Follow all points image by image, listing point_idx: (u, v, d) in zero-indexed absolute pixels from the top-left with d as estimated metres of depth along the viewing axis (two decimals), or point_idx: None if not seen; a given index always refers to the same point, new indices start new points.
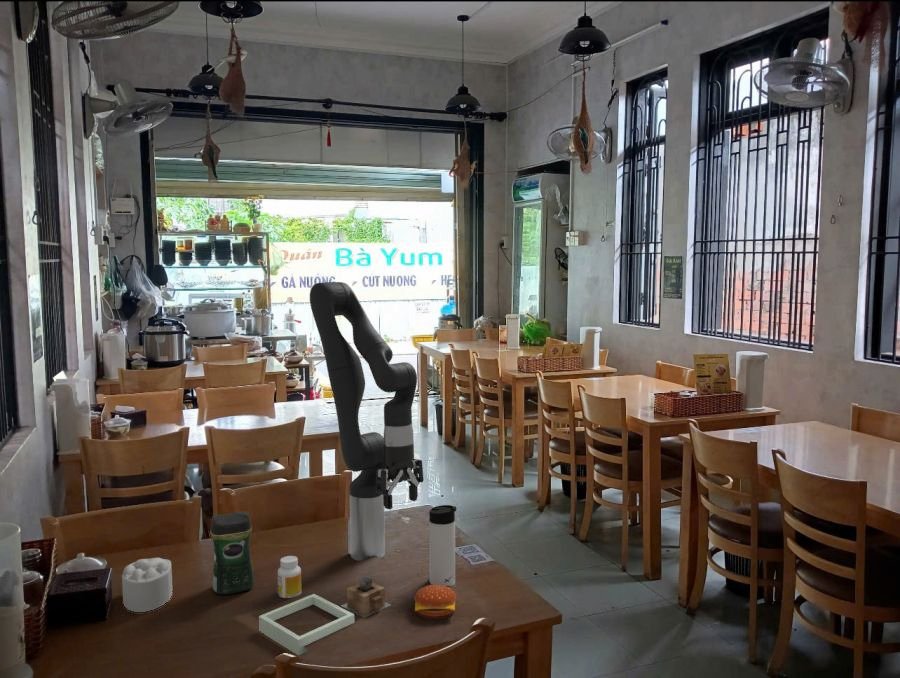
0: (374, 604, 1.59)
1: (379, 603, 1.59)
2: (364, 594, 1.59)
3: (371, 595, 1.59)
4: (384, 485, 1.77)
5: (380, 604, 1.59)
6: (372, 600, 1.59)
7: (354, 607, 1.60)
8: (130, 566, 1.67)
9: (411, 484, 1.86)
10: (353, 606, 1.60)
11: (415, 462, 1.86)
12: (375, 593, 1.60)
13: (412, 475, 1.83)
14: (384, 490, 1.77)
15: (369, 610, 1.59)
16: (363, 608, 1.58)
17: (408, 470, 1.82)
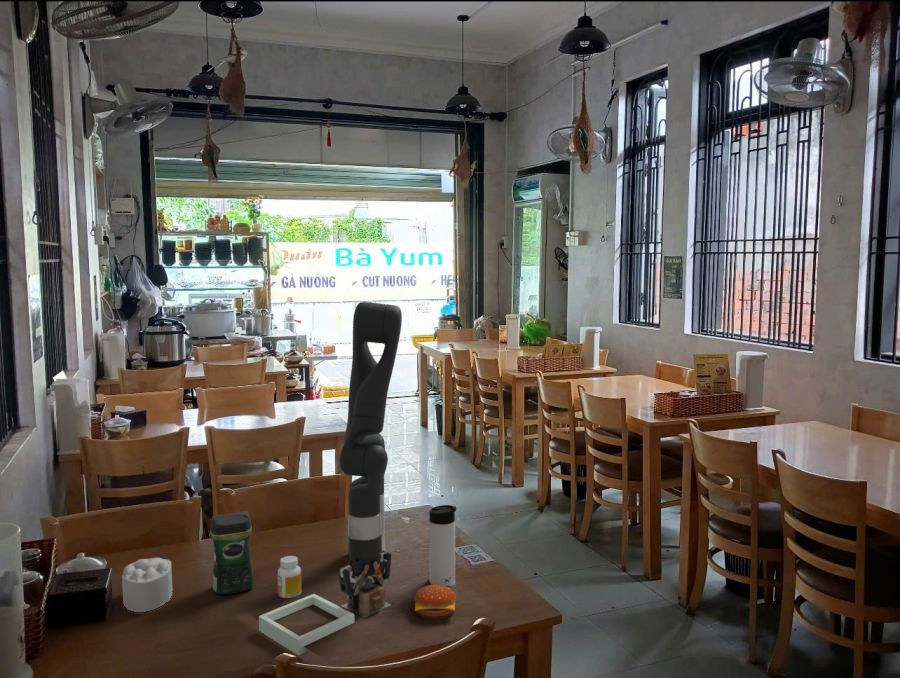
0: (374, 604, 1.59)
1: (379, 603, 1.59)
2: (364, 594, 1.59)
3: (371, 595, 1.59)
4: (349, 586, 1.57)
5: (380, 604, 1.59)
6: (372, 600, 1.59)
7: None
8: (130, 566, 1.67)
9: (375, 581, 1.64)
10: None
11: (383, 555, 1.65)
12: (375, 593, 1.60)
13: (378, 571, 1.62)
14: (349, 591, 1.57)
15: (369, 610, 1.59)
16: (363, 608, 1.58)
17: (375, 564, 1.61)
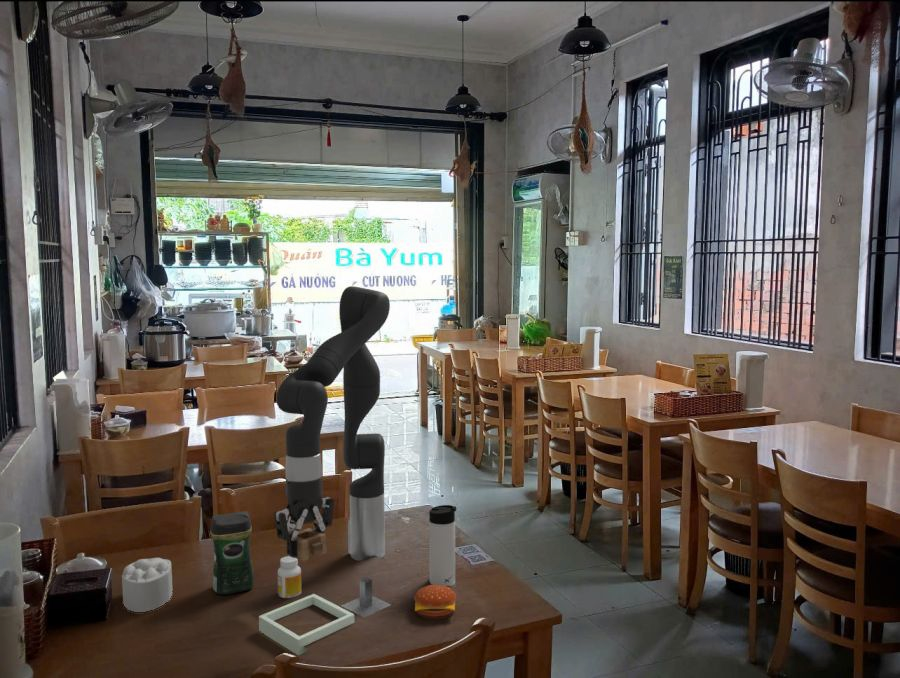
0: (313, 550, 1.49)
1: (319, 550, 1.49)
2: (303, 540, 1.49)
3: (310, 541, 1.49)
4: (285, 530, 1.47)
5: (320, 551, 1.50)
6: (311, 546, 1.49)
7: None
8: (130, 566, 1.67)
9: (316, 528, 1.54)
10: None
11: (325, 500, 1.55)
12: (316, 539, 1.50)
13: (319, 516, 1.52)
14: (286, 536, 1.47)
15: (308, 557, 1.49)
16: (302, 555, 1.48)
17: (314, 509, 1.51)
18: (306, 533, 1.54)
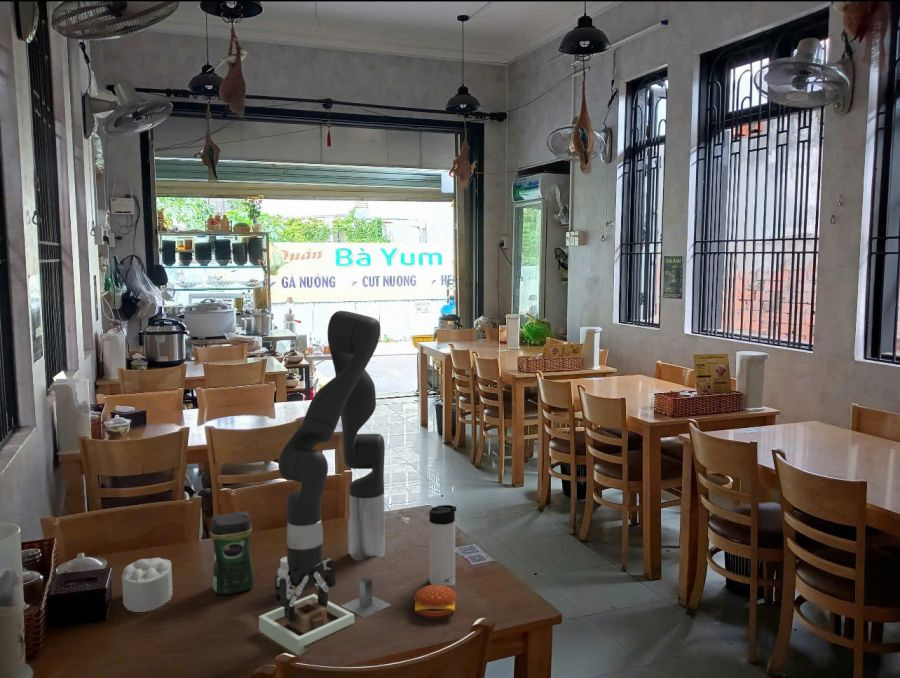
0: (314, 626, 1.50)
1: (320, 625, 1.51)
2: (304, 615, 1.51)
3: (311, 616, 1.51)
4: (284, 596, 1.48)
5: None
6: (312, 622, 1.51)
7: None
8: (130, 566, 1.67)
9: (320, 589, 1.56)
10: None
11: (326, 563, 1.56)
12: (316, 614, 1.52)
13: (320, 580, 1.54)
14: (284, 602, 1.48)
15: None
16: (303, 630, 1.50)
17: (315, 575, 1.52)
18: (307, 606, 1.56)
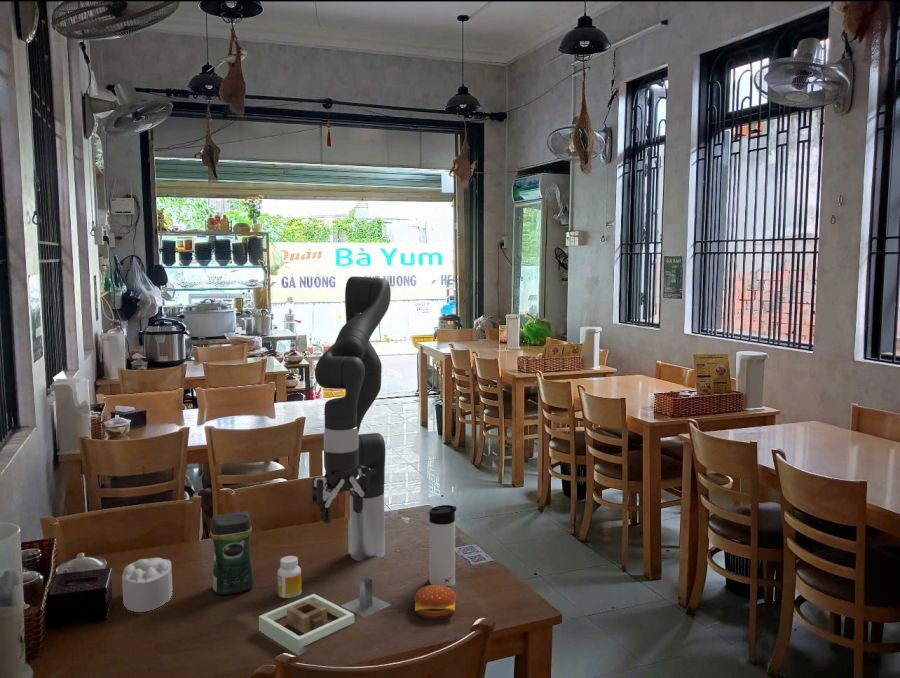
0: (314, 626, 1.50)
1: (320, 625, 1.51)
2: (304, 615, 1.51)
3: (311, 616, 1.51)
4: (320, 497, 1.53)
5: None
6: (312, 622, 1.51)
7: None
8: (130, 566, 1.67)
9: (356, 494, 1.62)
10: None
11: (361, 469, 1.62)
12: (316, 614, 1.52)
13: (356, 485, 1.59)
14: (320, 502, 1.54)
15: None
16: (303, 630, 1.50)
17: (351, 479, 1.58)
18: (307, 606, 1.56)
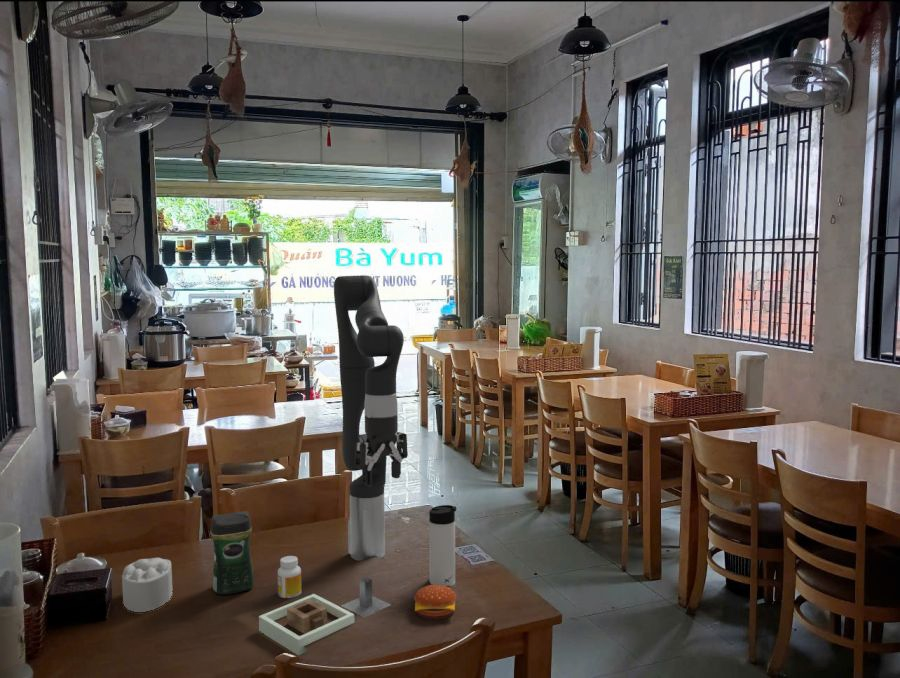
0: (314, 626, 1.50)
1: (320, 625, 1.51)
2: (304, 615, 1.51)
3: (311, 616, 1.51)
4: (363, 460, 1.60)
5: None
6: (312, 622, 1.51)
7: None
8: (130, 566, 1.67)
9: (394, 460, 1.69)
10: None
11: (399, 436, 1.68)
12: (316, 614, 1.52)
13: (395, 450, 1.66)
14: (363, 465, 1.60)
15: None
16: (303, 630, 1.50)
17: (391, 444, 1.65)
18: (307, 606, 1.56)
